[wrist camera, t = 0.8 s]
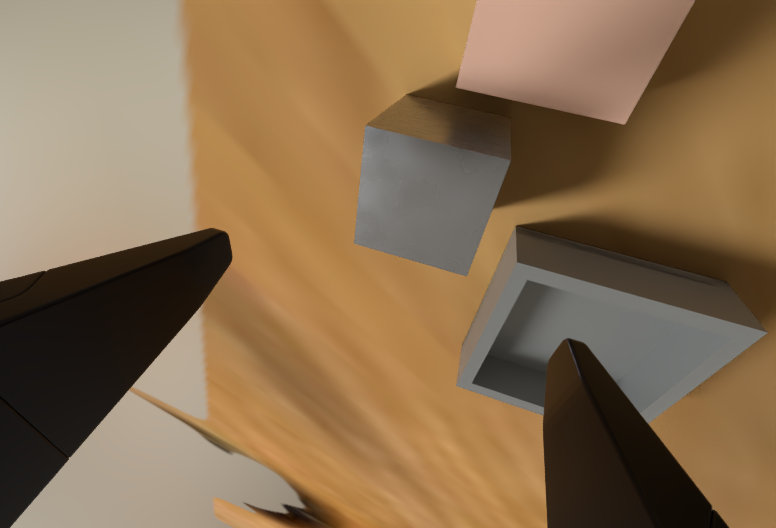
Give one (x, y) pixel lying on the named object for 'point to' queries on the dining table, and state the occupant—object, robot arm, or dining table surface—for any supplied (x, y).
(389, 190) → the metal box
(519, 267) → the tote
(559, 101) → the pinkish brown block
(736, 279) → the dining table surface
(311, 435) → the dining table surface
